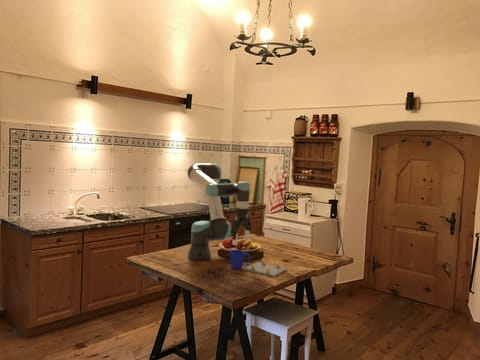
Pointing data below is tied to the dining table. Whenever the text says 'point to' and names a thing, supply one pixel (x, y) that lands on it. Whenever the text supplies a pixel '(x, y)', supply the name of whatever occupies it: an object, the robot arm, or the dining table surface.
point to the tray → (265, 269)
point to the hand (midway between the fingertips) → (240, 242)
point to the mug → (237, 259)
